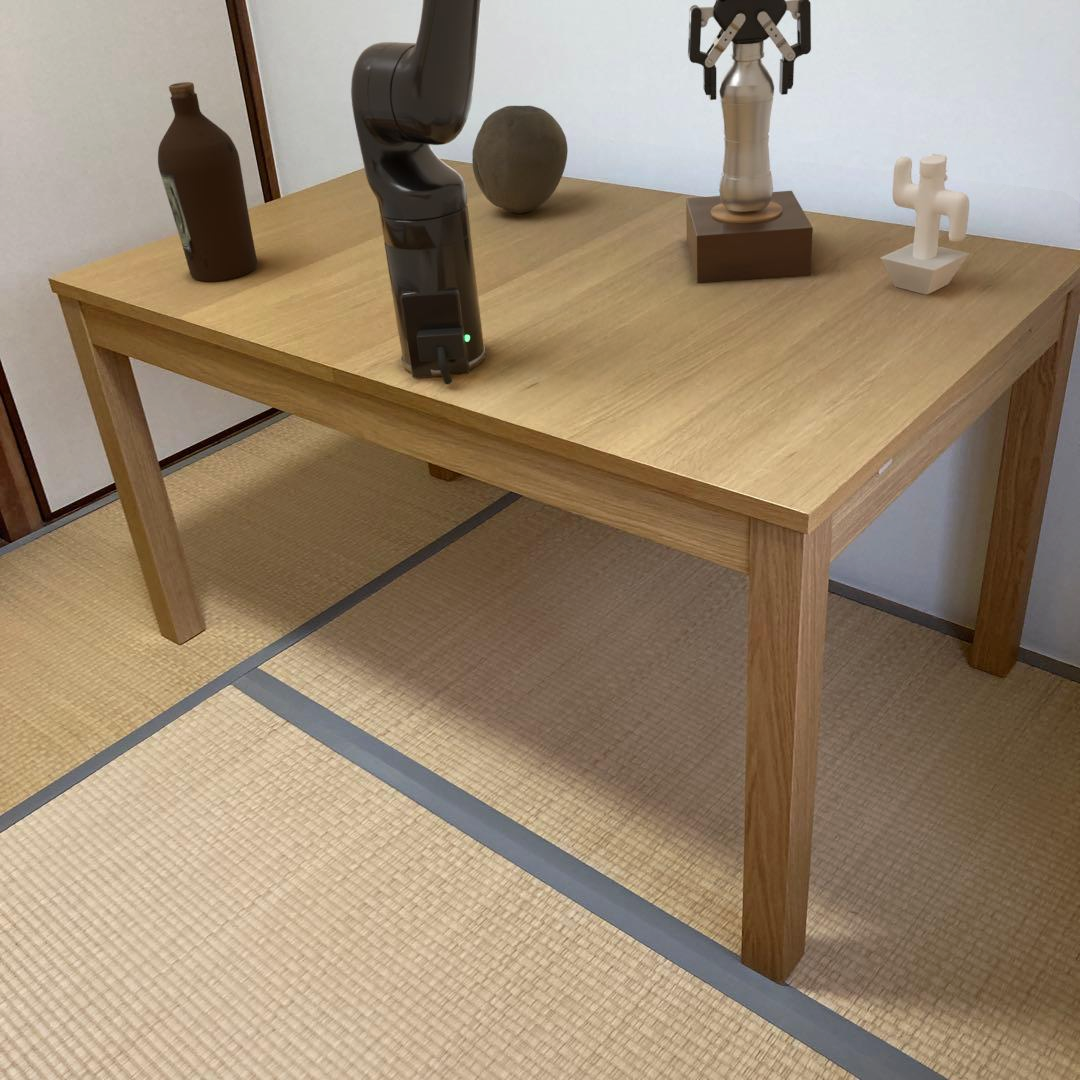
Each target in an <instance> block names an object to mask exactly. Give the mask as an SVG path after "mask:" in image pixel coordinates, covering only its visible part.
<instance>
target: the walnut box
mask: <svg viewBox="0 0 1080 1080" xmlns="http://www.w3.org/2000/svg"><path fill="white" fill-rule="evenodd" d="M685 206H686V207H685V213H686V214H685V215H686V216H685V218H686V219H685V220H686V223H685V224H686V244H687V249H688V252H689V257H690V260H691V264H692V269H693V271H694V276H695V280H696V283H697V284H701V283H717V282H730V281H744V280H758V279H759V280H760V279H773V278H775V279H776V278H788V277H789V278H790V277H801V276H802V277H803V276H811V275H812V255H813V254H812V253H813V231H814V227H813V226H812V223H811V222H810V220H809V218H808V217H807V215H806V213H805V212H804V209H803V207H802V206H801V204H800V202H799V201H798V199H797V197H796V195H795V193H794V192H793V190H780V191H773V193H772V199H771V201H770V203H769V204H768V206H767V207H765V208H763V209H761V210H756V211H748V212H740V211H732V210H728V209H726V208H725V207H724V205H723V204H722V202H721V198H720V195H714V196H700V197H687V198H686V199H685Z"/></svg>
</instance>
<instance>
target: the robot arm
mask: <svg viewBox="0 0 1080 1080" xmlns="http://www.w3.org/2000/svg"><path fill="white" fill-rule="evenodd" d="M421 7H422V8H421V14H420V23H419V29H418V33H417V37H416V42H398V41H397V42H395V41H384V42H383V41H382V42H377V43H374V44H371V45H369V46H368V47H366V48H365V49H364V50H363V51H362V52H361V53H360V55H358V58H357V60H356V61H355V64H354V67H353V70H352V76H351V82H350V83H351V84H350V98H351V107H352V108H351V109H352V114H353V121H354V125H355V130H356V135H357V140H358V144H359V149H360V153H361V154H360V155H361V157H362V158H361V159H362V163H363V167H364V173H365V177H366V180H367V184H368V185H369V187H370V190H371V191H372V193H373V195H374V197H376V200H377V204H378V210H379V216H380V224H381V229H382V236H383V243H384V249H385V256H386V262H387V268H388V274H389V276H388V277H389V282H390V288H391V294H392V302H393V308H394V314H395V320H396V327H397V332H398V338H399V344H400V350H401V351H400V352H401V356H400V357H401V364H402V366H403V369H405V370H406V371H407V372H409V373H411V377H412V378H428V377H442V380H443V383H444V384H445V385H450V384H451V383H452V382H453V378H452V376H458V375H468V374H469V372H470V370H472V369H473V368H475V367H477V366H480V364H481V363H483V362H484V360H485V358H486V356H487V355H486V346H485V344H484V343H485V342H484V335H483V325H482V319H481V311H480V303H479V302H480V301H479V294H478V286H477V285H478V284H477V277H476V268H475V259H474V250H473V241H472V234H471V224H470V215H469V206H468V196H467V189H466V183H465V180H464V178H463V177H462V175H461V173H460V172H458V171H456V170H455V169H454V168H452V167H451V166H449V165H448V164H447V163H445V162H444V161H443V160H441V158H439V156H438V155H437V154H436V153H435V152H434V149H432V147H431V146H443V145H447V144H449V143H451V142H452V141H454V140H455V139H456V138H457V137H458V136H459V135H460V134H461V133H462V130H463V128H464V127H465V125H466V124H467V120H468V117H469V113H470V110H471V106H472V102H473V95H474V89H475V81H476V71H477V70H476V68H477V59H478V58H477V56H478V47H479V46H478V44H479V34H480V33H479V31H480V21H481V20H480V19H481V9H482V0H422V6H421ZM811 7H812V6H811V1H810V0H715V2H714V5H713V6H702V7H700V6H699V5H697V4H693V5H692V6H691V7H690V8H689V13H688V14H689V16H688V40H687V41H688V42H687V57H688V59H689V61H690V62H691V63H692V64H697V65H701V66H702V68H703V69H702V71H703V72H702V73H703V74H702V75H703V77H702V79H703V80H702V81H703V82H702V83H703V84H702V85H703V91H704V94H705V96H708V97H709V101H715V100H717V66H716V63H717V62H718V60H719V59H720V57H721V56H722V54H723V53H724V52H725V51H726V50H727V48H728V47H729V45H730V43H732V42H734V43H736V44H744V43H746V42H749V41H752V42H756V43H758V42H764V41H766V40H768V39H770V40H771V41H772V43H773V44H774V45H775V47H776V48H777V49H778V51H779V53H780V54H781V58H780V59H779V78H778V79H779V83H778V91H779V94H780V95H781V96H784V95H788V93H789V90H792V88H793V86H794V76H795V75H794V73H795V61H796V60H797V58H799V57H801V56H803V55H808V54H809V53H810V52H811V51H812V26H811V25H812V16H811V15H812V14H811V13H812V10H811ZM787 11H789V13H790V16H791V18H792V19H793V20H796V43H794V44H792V45H790V44H789V42H788V41H787V39H786V38H785V36H784V35H783V34H782V32H781V31H780V30H779V28H778V27H777V26H778V25H779V23H780V22H781V20H782V19H783V17H784V16H785V14H786V12H787ZM712 17H713V19H714V20H715V22H716V23H717V25H718V26H719V27H720V29H719V30H718V32H717V34H716V35H715V37H714V39H713V40H712V42H711V44H710V46H709V47H708V49H707V50H706V51H701V37H702V29H703V28H705V27H707V25H708V22H709V20H710V18H712Z"/></svg>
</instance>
